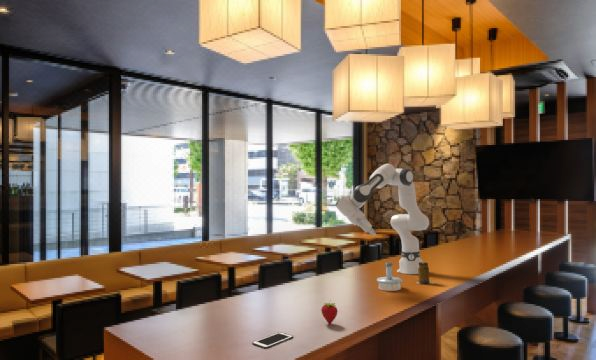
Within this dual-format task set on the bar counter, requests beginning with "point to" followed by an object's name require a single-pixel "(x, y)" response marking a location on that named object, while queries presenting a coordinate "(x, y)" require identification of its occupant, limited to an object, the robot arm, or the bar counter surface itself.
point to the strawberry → (329, 312)
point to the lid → (389, 276)
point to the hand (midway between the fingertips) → (375, 235)
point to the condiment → (423, 273)
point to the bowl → (389, 286)
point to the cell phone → (272, 340)
